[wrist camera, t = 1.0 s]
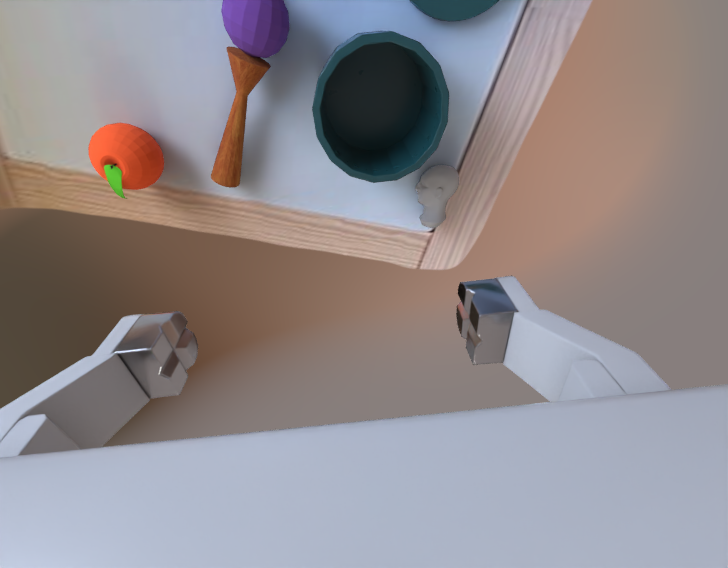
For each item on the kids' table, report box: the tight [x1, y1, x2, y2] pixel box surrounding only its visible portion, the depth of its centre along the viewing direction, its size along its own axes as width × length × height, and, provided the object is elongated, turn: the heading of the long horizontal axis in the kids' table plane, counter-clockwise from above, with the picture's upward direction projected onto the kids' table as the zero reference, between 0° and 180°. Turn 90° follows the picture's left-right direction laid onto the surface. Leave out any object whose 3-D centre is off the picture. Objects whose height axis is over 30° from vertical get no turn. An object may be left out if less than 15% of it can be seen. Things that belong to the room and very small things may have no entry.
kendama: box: [211, 0, 290, 187], centre depth 36 cm, size 6×6×20 cm
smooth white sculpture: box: [415, 165, 459, 228], centre depth 45 cm, size 4×8×5 cm
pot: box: [312, 31, 449, 183], centre depth 36 cm, size 12×12×10 cm
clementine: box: [89, 123, 164, 198], centre depth 39 cm, size 8×7×7 cm
